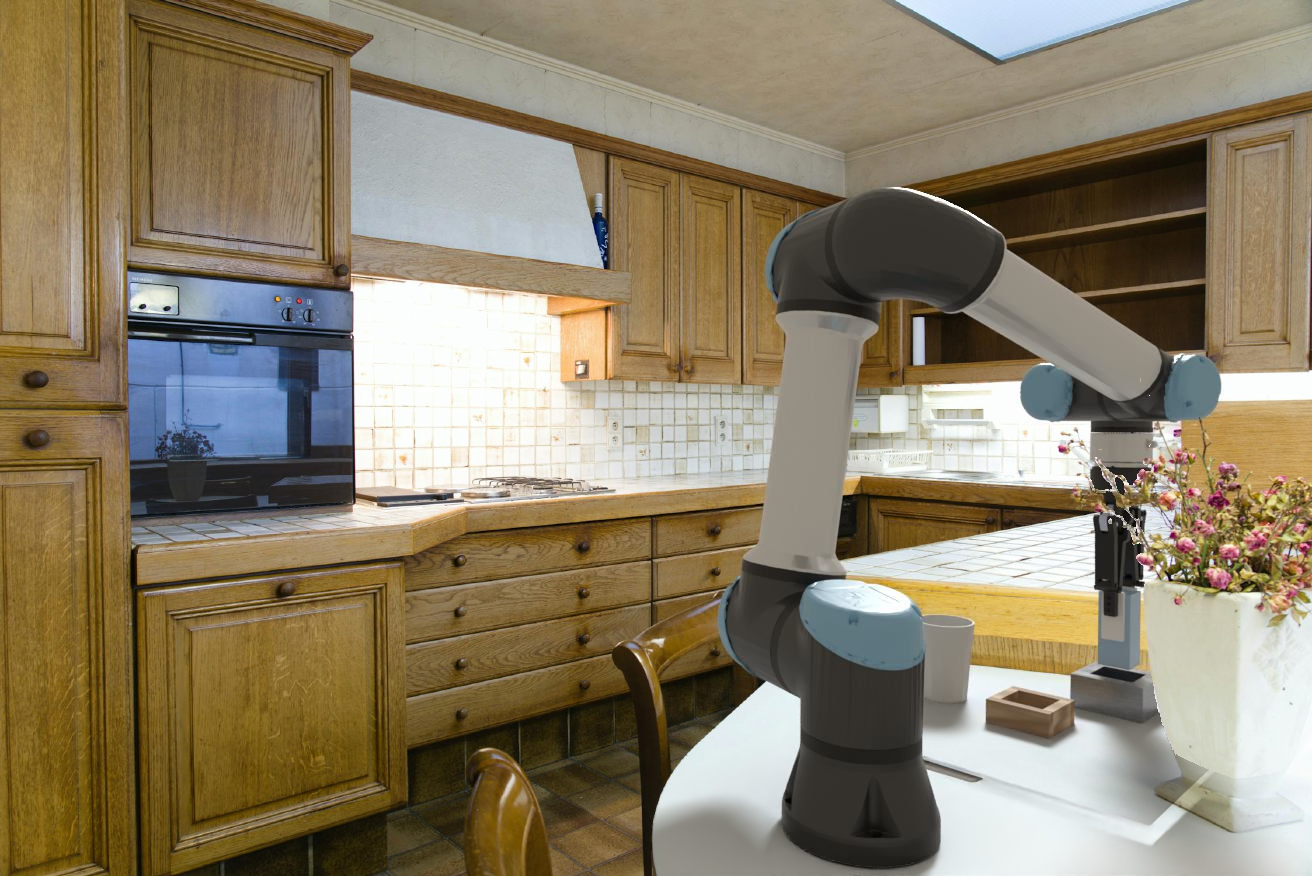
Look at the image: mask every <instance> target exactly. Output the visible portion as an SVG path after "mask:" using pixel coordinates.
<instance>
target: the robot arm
mask: <svg viewBox="0 0 1312 876" xmlns="http://www.w3.org/2000/svg"><path fill="white" fill-rule="evenodd" d="M1007 248H1008V247H1007V240H1006V238H1005V236H1004V235H1003V233H1002V232H1001V231H999V230H998V229H996V228H995V227H993V226H992V225H990V224H989V223H986V222H985V221H984V220H983V219H981V218H979V217H977V216H976V215H974V214H972V213H971V212H969V211H968V210H964V209H963V208H961V207H959V206H957V205H954V204H953V203H950V202H949V201H946V200H944V199H942V198H939V197H937V196H936V197H935V196H933V195H930V194H927V193H924V192H921V191H918V190H914V189H911V188H904V187H903V188H902V187H897V186H891V187H890V186H888V187H887V186H886V187H885V186H884V187H875V188H871V189H869V190H865V191H862V192H860V193H858V194H856V195H854V196H852V197H851V196H850V197H849V198H847V199H844V200H841V201H839V202H837V203H835V204H832V205H829V206H827V207H823V208H816V209H813V210H811V211H809V212H806V213H803V214H802V215H800V216H798V217H797V218H796V219H795V220H794V221H792V222H790V223H788V224H787V225H785V227H784V228H783V229H781V230H780V231H779V232H778V233H777V235H776V236H775V238H774V239H773V240H772V243H771V244H770V246H769V248H768V252H767V254H766V255H767V256H766V257H765V259H766V260H765V267H764V268H765V269H764V271H765V272H764V274H765V282H766V286H767V289H768V291H770V293H771V294H772V300H773V301H774V302H775V304H776V313H775V322H776V323H777V324H778V326H779V327H780V328H781V330H782V331H783V332H784V334H785V337H786V338H785V344H784V345H785V346H784V353H783V361H782V367H781V375H780V383H779V390H778V397H777V404H776V411H775V419H774V426H773V434H772V440H771V449H770V457H769V462H768V471H767V476H766V477H767V478H766V485H765V491H764V492H765V493H764V498H763V499H764V500H763V507H762V516H761V521H760V529H759V530H760V531H759V537H758V542H757V543H756V544H755V546H753V547H752V548H751V549H750V550H748V551H747V552H746V553H745V554H743V557H742V563H741V567H740V568H741V570H740V575H738V576H737V577H735V578H734V579H733V582H732V583H731V584H730V585H728V586H727V587H726V588H725V590H724V591H723V594H722V596H721V599H720V601H719V605H718V608H717V628H718V632H719V637H720V640H721V643H722V645H723V647H724V649H725V650H726V652H727V654H728V655H729V657H730V658H732V659H733V661H734V662H736V663H737V664H738V665H739V666H741V667H742V668H743V669H744V670H745V671H746V672H748V673H749V674H750V675H752V676H753V677H756V678H758V679H760V680H762V681H766V682H768V683H769V684H771V685H773V686H775V687H778V688H779V689H781V690H783V691H785V692H787V693H789V694H791V695H793V696H795V697H797V698H799V699H800V702H799V703H800V705H799V707H800V711H799V712H800V714H799V717H800V718H799V720H800V722H799V724H800V726H799V731H800V733H799V734H800V736H799V741H800V742H799V748H798V751H797V754H796V757H795V760H794V763H793V764H792V765H793V766H792V768H791V770H790V775H789V776H788V780H787V783H786V787H785V790H784V792H783V794H782V799H781V821H780V822H781V827H782V829H783V832H784V833H785V834H786V836H787V838H788V839H789V840H791V842H793V843H794V844H796V845H797V846H798V847H799V848H801V849H803V850H805V851H807V852H808V853H811V854H812V855H815V856H818V857H820V858H822V859H826V860H828V861H832V862H836V863H840V864H845V865H851V866H856V867H857V866H858V867H863V868H864V867H865V868H866V867H867V868H894V867H895V868H896V867H903V866H909V865H913V864H916V863H919V862H922V861H925V860H926V859H928V858H930V857H931V856H933V855H934V854H935V853H936V852H937V851H938V849H939V848H940V846H941V843H942V842H941V841H942V840H941V839H942V838H941V837H942V834H941V832H942V823H941V822H942V819H941V818H942V817H941V813H940V810H939V806H938V805H937V801H936V798H935V794H934V790H933V786H932V784H931V780H930V776H929V774H928V771H927V769H926V767H925V764H924V761H923V759H924V757H923V736H924V735H923V734H924V731H923V730H924V703H925V702H924V701H925V700H924V699H925V698H924V670H925V648H926V642H925V638H924V632H923V618H922V615H923V614H922V611H921V609H920V607H919V605H918V604H917V603H916V602H915V600H914V599H911V597H909V596H907V595H906V594H905V593H903V592H900V590H899V591H898V590H896V589H893V588H892V587H888V586H885V585H883V584H878V583H867V582H865V581H862V580H855V579H847V570H846V569H845V567H844V566H843V565H842V563H841V561H840V560H839V559H838V557H837V554H836V549H837V541H838V534H839V527H840V520H841V519H840V518H841V509H842V503H843V496H844V495H843V494H844V487H845V482H846V481H845V479H846V474H847V473H846V472H847V464H848V457H849V456H848V455H849V449H850V441H851V433H852V424H853V418H854V409H855V404H856V397H857V396H856V395H857V388H858V387H857V386H858V381H859V380H858V379H859V372H860V367H861V365H860V364H861V358H862V357H861V356H862V349H863V345H864V343H865V342H866V341H867V340H869V339H870V338H871V337H873V336H874V335H875V334H877V332H879V326H880V319H881V314H882V313H881V311H882V304H883V302H887V301H892V300H909V301H916V302H921V303H922V302H923V303H925V304H927V305H930V306H932V307H934V308H935V309H937V310H939V311H941V312H943V313H945V314H958V313H962V312H963V313H964V314H966V315H967V316H968V317H971V318H973V319H974V320H976V321H978V322H979V323H981V324H983V325H985V326H986V327H988V328H989V329H991V330H993V331H994V332H995V333H998V334H1000V335H1002V336H1003V337H1005V338H1007V339H1008V340H1010V341H1012V342H1013V343H1015V344H1016V345H1019V347H1022V348H1024V349H1025V350H1027V351H1028V352H1030V353H1032V354H1033V355H1034V356H1035V355H1036V356H1038V357H1039V358H1041V359H1042V360H1044V361H1046V363H1045V362H1043V363H1042V362H1041V363H1038V364H1036V365H1034V366H1033V367H1031V368H1030V369H1028V370H1027V371H1026V373H1025V374H1024V376H1023V377H1022V380H1021V382H1020V388H1019V389H1020V392H1019V393H1020V396H1019V397H1020V402H1021V403H1020V404H1021V405H1022V407H1023V409H1024V410H1025V412H1026V413H1027V414H1028V415H1029V416H1030V417H1031V418H1033V419H1036V420H1039V421H1049V422H1050V423H1054V422H1056V423H1057V422H1058V423H1059V422H1090V433H1089V435H1090V441H1089V460H1090V462H1092V463H1094V465H1093V466H1091V467H1090V469H1089V480H1090V479H1091V480H1092V482H1093V485H1094V488H1095V489H1098V490H1105V489H1109V490H1110V489H1112V486H1111V485H1110V483H1109V482H1107V481H1106V480H1105V479H1104V478H1103V476H1102V471H1101V468H1100V467H1099V465H1098V464H1097V463H1096V461H1095V457H1098V458H1099V459H1101V462H1102V464H1103V465H1104V466H1105V467H1106V468H1107V469H1109V471H1110V472H1112V473H1113V474H1115V475H1123V476H1124V477H1125V478H1126V480H1127V482H1128V483H1129V485H1133V483H1134V481H1135V480H1136V479H1137V474H1138V473H1139V471H1140V470H1141V469H1144V470H1145V471H1151V470H1152V467H1148V464H1147V465H1144V464H1143V459H1145V458H1150V459H1152V460H1153V461H1154V458H1153V457H1154V455H1153V454H1154V449H1156V448H1157V447H1158V442H1157V440H1154V426H1153V424H1154V422H1169V423H1178V422H1182V421H1183V422H1184V421H1186V422H1187V421H1199V420H1202V419H1204V418H1206V417H1208V416H1209V415H1211V414H1212V413H1213V412H1214V410H1215V409H1216V407H1217V405H1218V404H1219V399H1220V395H1221V393H1222V378H1221V374H1220V371H1219V370H1218V367H1217V366H1216V364H1215V363H1214V361H1212V359H1210V358H1208V357H1207V356H1205V355H1201V354H1187V353H1180V354H1178V355H1172V354H1169V353H1168V352H1166V351H1164V350H1163V349H1161V348H1159V347H1158V346H1156V345H1155V344H1153V343H1152V342H1150V341H1148V340H1146V339H1145V338H1144V337H1142V336H1140V335H1138V333H1136V332H1134V331H1133V330H1132V329H1129V327H1127V326H1125V325H1123V324H1122V323H1120V322H1119V321H1118V320H1116V319H1115V318H1113V317H1111V316H1110V315H1109V314H1107V313H1106V312H1104V311H1102V310H1101V309H1099V308H1098V307H1096V306H1095V305H1093V304H1092V303H1090V302H1089V301H1087V300H1085V299H1084V298H1083V297H1081V296H1080V295H1077V294H1076V293H1075V292H1073V291H1072V290H1070V289H1068V288H1067V287H1066V286H1064V285H1062V284H1061V283H1059V282H1058V281H1057V280H1055V279H1053V278H1052V277H1050V276H1049V275H1047V274H1045V273H1044V272H1043V271H1041V270H1040V269H1038V268H1036V267H1035V266H1034V265H1031V264H1030V263H1029V262H1027V261H1026V260H1024V259H1022V258H1021V257H1020V256H1018V255H1016V254H1015V253H1013V252H1012V251H1010V250H1009V249H1007ZM1140 378H1141V382H1140ZM1149 395H1150V396H1149ZM1199 417H1200V419H1199ZM1103 433H1105V434H1106V435H1103ZM1150 444H1151V445H1150ZM1149 445H1150V447H1149ZM1099 449H1102V450H1099ZM1115 482H1116V486H1117V489H1118V491H1119V493H1120V494H1122V495H1124V493H1125V490H1124V483H1123V481H1122V480H1121V479H1120V478H1118V477H1116V478H1115ZM1089 489H1090V491H1091V493H1093V494H1097V495H1099V494H1100V493H1096V492H1094V491H1092V488H1091V486H1090V485H1089ZM1100 495H1103V499H1102V504H1103V503H1105V504H1106V506H1108V507H1109V508H1112V509H1113V510H1114V511H1115V514H1116V515H1120V516H1123V518H1124V520H1125V521H1126V522H1127V524H1129V525H1131V526H1133V527H1136V521H1135V520H1134V518H1136V519H1138V518H1139V519H1140V527H1141V529H1142V530H1143V532H1144V533H1145V525H1146V518H1147V509H1142V508H1139V507H1140V505H1139V506H1131V507H1129V511H1130V513H1131V514H1132V515H1133V517H1134V518H1132V517H1131V516H1130V514H1129V513H1128V512H1127V511H1126V510H1124V508H1121V507H1117V506H1116V499H1115V496H1114V495H1113V493H1112V492H1110V491H1109V492H1108V491H1106V493H1101V494H1100ZM1110 518H1111V519H1112V524H1109V523H1108V520H1109V519H1110ZM1092 522H1093V523H1092V524H1093V529H1094V585H1093V589H1094V590H1095V591H1100V590H1101V591H1102V600H1101V638H1102V639H1108V640H1114V641H1120V642H1124V641H1125V592H1122V589H1128V590H1136V591H1138V588H1144V587H1145V586H1144V584H1145V585H1146V581H1142V580H1143V579H1144V577H1145V576H1144V575H1145V574H1144V566H1143V565H1141V564H1140V563H1139V562H1138V561H1137V559H1136V556H1137V555H1138V554H1140V553H1144V554H1145V544H1144V545H1143V544H1140V543H1139V544H1135V545H1133V544H1132V542H1133V540H1132V537H1131V533H1130V531H1129V530H1127V528H1123V527H1122V526H1123V521H1122V520H1121V518H1119V517H1116V516H1115V515H1112V514H1110V513H1103V512H1101V511H1099V514H1094V515H1093V517H1092ZM1135 533H1136V536H1138V533H1137V529H1136V532H1135Z"/></svg>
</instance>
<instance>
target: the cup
mask: <svg viewBox="0 0 1312 876" xmlns="http://www.w3.org/2000/svg"><path fill="white" fill-rule="evenodd" d="M922 618H923V632H924V638H925V642H926V648H925V670H924V699H926V700H930V701H932V702H938V703H941V704H944V703H945V704H958V703H959V704H960V703H963V702H965V701H967V700H968V690H969V681H970V680H969V679H970V670H971V669H970V668H971V658H972V657H971V656H972V648H973V643H974V636H975V635H974V634H975V626H976V625H975V621H974V620H973V619H970V618H967V617H963V616H958V615H953V614H952V615H951V614H943V613H942V614H939V613H936V614H935V613H933V614H931V613H930V614H929V613H928V614H922Z"/></svg>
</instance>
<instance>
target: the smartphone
mask: <svg viewBox="0 0 1312 876" xmlns="http://www.w3.org/2000/svg"><path fill="white" fill-rule="evenodd" d="M923 761H924V764H925V767H926V770H928V771H931V772H934V773H938V774H941V775H944V776H948V777H951V778H954V779H957V780H960V781H961V780H962V781H963V782H967V783H978V782H980V781H981V780H983V779H984V777H980V776H977V775H974V774H972V773H968V772H965V771H961V770H958V769H955V768H952V767H950V766H949V767H948V766H945V765H942V764H939V763H936V762H933V761H930V760H926V759H924V758H923Z"/></svg>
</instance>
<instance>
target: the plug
mask: <svg viewBox="0 0 1312 876" xmlns="http://www.w3.org/2000/svg"><path fill="white" fill-rule="evenodd" d="M1122 592H1125V641H1124V642H1120V641H1114V640H1108V639H1102V638H1101V600H1102V591H1101V590H1098V600H1097V601H1098V607H1097V608H1098V610H1097V611H1098V612H1097V618H1098V620H1097V622H1098V623H1097V662H1098V664H1101V665H1106V666H1111V667H1116V668H1121V669H1126V670H1131V669H1132V668H1133V669H1135V668H1136V667H1137V666H1139V665H1141V612H1142V611H1141V607H1142V606H1141V604H1142V603H1141V602H1142V601H1141V599H1142V595H1141V594H1142V593H1141V592H1142V591H1141V590H1137V591H1136V590H1128V589H1122Z"/></svg>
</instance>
